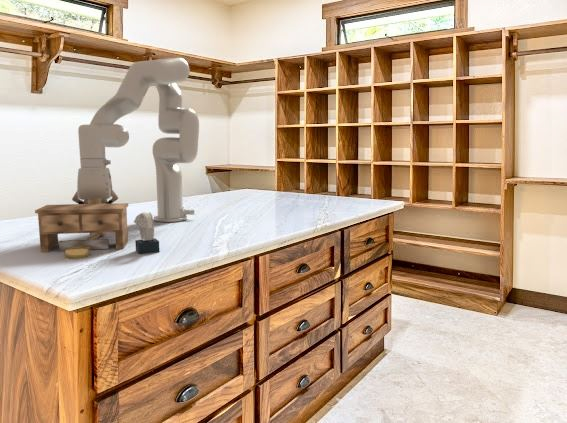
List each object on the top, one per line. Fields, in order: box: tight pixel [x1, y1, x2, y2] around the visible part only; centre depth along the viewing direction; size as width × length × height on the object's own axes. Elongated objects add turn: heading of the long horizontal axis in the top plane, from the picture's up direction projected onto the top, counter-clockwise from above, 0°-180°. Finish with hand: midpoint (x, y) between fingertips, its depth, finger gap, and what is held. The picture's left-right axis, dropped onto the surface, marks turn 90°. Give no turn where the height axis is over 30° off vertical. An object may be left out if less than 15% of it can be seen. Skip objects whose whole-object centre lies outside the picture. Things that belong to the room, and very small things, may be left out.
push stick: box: [58, 199, 110, 252], centre depth 144 cm, size 13×23×16 cm, turn 11°
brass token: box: [64, 246, 91, 260], centre depth 128 cm, size 6×6×2 cm
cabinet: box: [34, 202, 129, 253], centre depth 138 cm, size 23×12×12 cm, turn 101°
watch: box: [133, 212, 160, 255], centre depth 133 cm, size 6×8×11 cm
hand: (96, 220), depth 153 cm, fingers closed on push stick, 4 cm apart
